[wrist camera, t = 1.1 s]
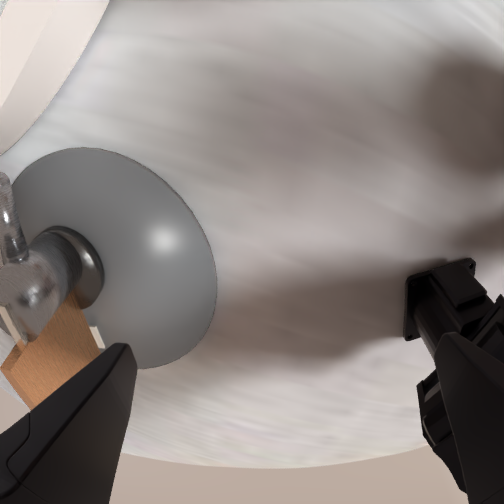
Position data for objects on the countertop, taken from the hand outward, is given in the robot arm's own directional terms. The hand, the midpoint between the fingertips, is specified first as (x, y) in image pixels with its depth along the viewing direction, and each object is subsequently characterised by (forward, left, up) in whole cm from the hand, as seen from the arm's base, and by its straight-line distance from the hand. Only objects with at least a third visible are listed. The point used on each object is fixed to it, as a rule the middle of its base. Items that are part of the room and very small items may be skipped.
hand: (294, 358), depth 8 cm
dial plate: (-2, +14, -12) cm, 18 cm away
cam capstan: (-1, +15, -11) cm, 19 cm away
